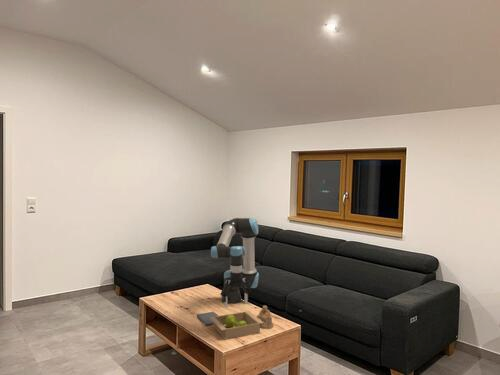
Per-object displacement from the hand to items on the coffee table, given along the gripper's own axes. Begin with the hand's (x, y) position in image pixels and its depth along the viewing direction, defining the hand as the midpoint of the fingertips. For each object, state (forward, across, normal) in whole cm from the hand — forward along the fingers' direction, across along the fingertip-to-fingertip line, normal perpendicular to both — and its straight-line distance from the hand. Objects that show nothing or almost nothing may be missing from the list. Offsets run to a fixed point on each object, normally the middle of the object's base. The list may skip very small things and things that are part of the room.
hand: (236, 305), depth 244 cm
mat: (+15, +10, -22) cm, 28 cm away
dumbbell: (+16, 0, 0) cm, 16 cm away
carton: (+15, 0, 0) cm, 15 cm away
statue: (+16, -19, +2) cm, 25 cm away
